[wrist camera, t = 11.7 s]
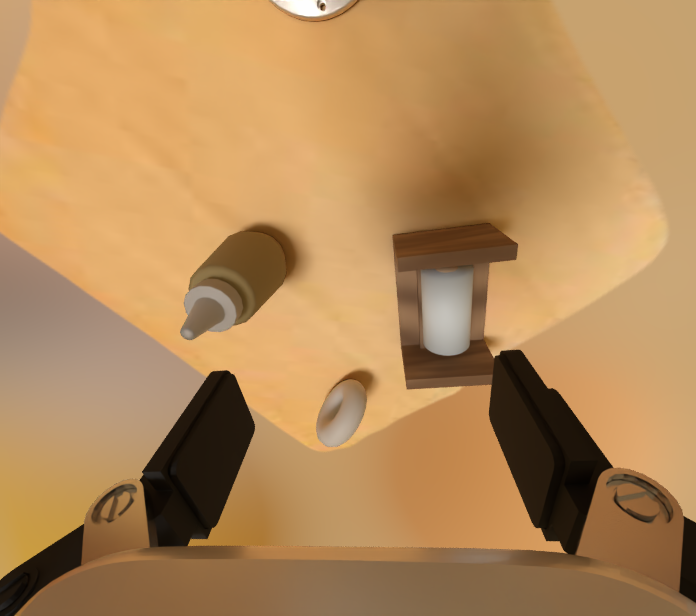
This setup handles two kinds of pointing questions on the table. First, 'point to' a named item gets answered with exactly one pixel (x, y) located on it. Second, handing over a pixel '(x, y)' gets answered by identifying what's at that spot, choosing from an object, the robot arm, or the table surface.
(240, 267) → the squeeze bottle
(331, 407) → the donut
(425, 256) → the cradle
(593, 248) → the table surface
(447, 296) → the roll
